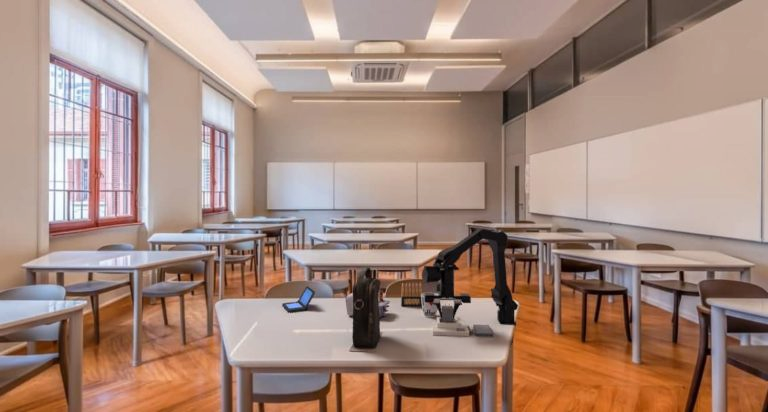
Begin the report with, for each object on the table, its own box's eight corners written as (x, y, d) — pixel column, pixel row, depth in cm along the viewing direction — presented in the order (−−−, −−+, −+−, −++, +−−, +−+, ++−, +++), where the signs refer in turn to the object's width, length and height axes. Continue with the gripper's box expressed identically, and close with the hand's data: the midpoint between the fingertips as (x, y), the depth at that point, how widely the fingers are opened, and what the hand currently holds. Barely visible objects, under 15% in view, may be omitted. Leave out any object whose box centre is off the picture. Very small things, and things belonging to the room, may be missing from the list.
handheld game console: (281, 306, 209) (281, 288, 209) (307, 303, 215) (307, 285, 215) (288, 313, 195) (288, 294, 195) (315, 310, 201) (315, 291, 201)
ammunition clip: (401, 306, 206) (400, 282, 205) (401, 305, 207) (401, 282, 207) (422, 306, 205) (422, 283, 205) (422, 306, 206) (422, 282, 206)
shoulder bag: (360, 331, 167) (360, 262, 166) (382, 332, 166) (382, 263, 165) (348, 351, 144) (348, 272, 144) (374, 352, 143) (373, 272, 143)
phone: (488, 327, 171) (488, 324, 171) (493, 336, 159) (493, 333, 159) (473, 326, 171) (473, 324, 171) (476, 336, 159) (476, 333, 159)
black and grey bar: (475, 333, 163) (475, 331, 163) (476, 334, 162) (475, 332, 162) (468, 333, 163) (468, 330, 163) (468, 334, 162) (468, 331, 162)
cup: (418, 317, 186) (418, 295, 186) (425, 312, 194) (425, 291, 194) (435, 319, 183) (435, 297, 183) (441, 314, 190) (441, 293, 190)
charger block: (452, 320, 171) (452, 303, 171) (453, 323, 167) (453, 305, 167) (441, 319, 172) (441, 302, 171) (442, 323, 167) (442, 305, 167)
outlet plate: (465, 325, 174) (465, 317, 174) (469, 336, 160) (469, 327, 160) (432, 324, 175) (432, 316, 175) (433, 335, 161) (433, 326, 161)
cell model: (349, 288, 197) (390, 290, 195) (349, 311, 198) (390, 313, 195) (343, 294, 185) (387, 296, 182) (343, 318, 185) (387, 321, 182)
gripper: (468, 277, 176) (468, 313, 176) (424, 277, 178) (424, 312, 178) (470, 282, 165) (471, 321, 165) (424, 282, 167) (424, 320, 167)
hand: (447, 318), depth 169 cm, fingers closed on charger block, 4 cm apart
